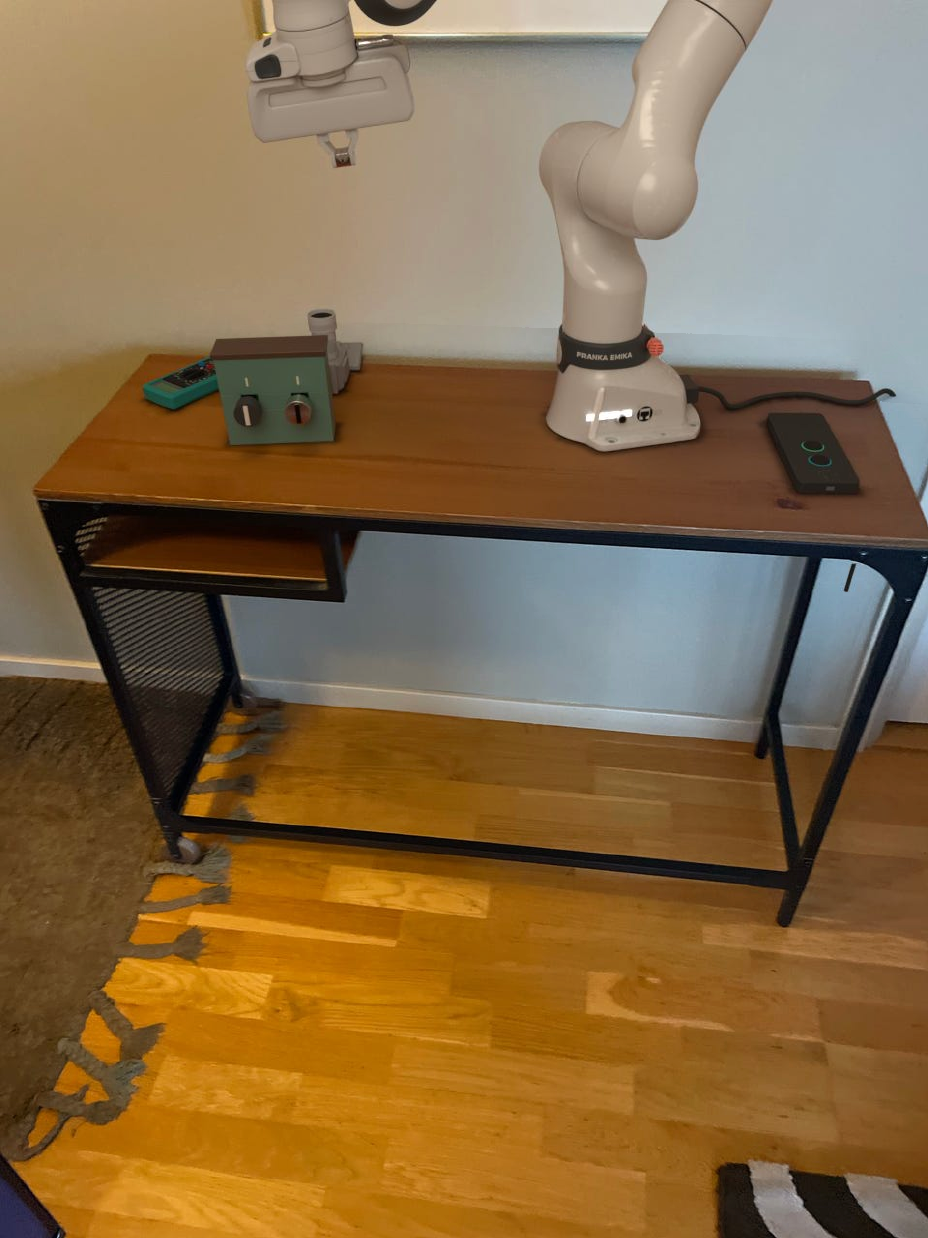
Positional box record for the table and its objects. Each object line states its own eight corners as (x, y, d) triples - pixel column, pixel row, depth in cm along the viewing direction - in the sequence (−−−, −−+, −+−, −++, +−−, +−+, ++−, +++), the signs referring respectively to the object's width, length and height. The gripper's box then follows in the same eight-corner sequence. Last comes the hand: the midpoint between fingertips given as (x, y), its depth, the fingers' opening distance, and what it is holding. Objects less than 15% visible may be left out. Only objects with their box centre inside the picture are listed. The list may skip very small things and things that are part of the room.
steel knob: (312, 425, 126) (309, 401, 124) (286, 426, 126) (282, 402, 124) (315, 407, 130) (312, 383, 128) (290, 408, 130) (286, 384, 128)
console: (335, 442, 132) (325, 350, 123) (227, 446, 132) (209, 354, 123) (338, 424, 136) (327, 334, 128) (233, 428, 136) (215, 338, 127)
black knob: (261, 427, 126) (257, 403, 124) (235, 428, 126) (231, 404, 123) (266, 409, 130) (262, 385, 128) (241, 410, 130) (236, 386, 128)
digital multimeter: (246, 379, 149) (242, 362, 147) (173, 413, 140) (169, 395, 138) (216, 368, 153) (212, 351, 151) (143, 400, 144) (138, 383, 142)
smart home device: (798, 482, 118) (765, 411, 134) (795, 493, 119) (763, 422, 135) (863, 482, 118) (823, 411, 133) (859, 494, 119) (820, 422, 134)
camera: (289, 321, 137) (305, 288, 149) (299, 394, 144) (313, 357, 156) (346, 321, 137) (358, 287, 149) (354, 394, 144) (364, 357, 156)
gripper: (405, 22, 108) (424, 142, 119) (238, 48, 110) (271, 165, 120) (405, 40, 104) (424, 163, 115) (231, 68, 106) (266, 187, 116)
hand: (344, 164), depth 118 cm, fingers closed
